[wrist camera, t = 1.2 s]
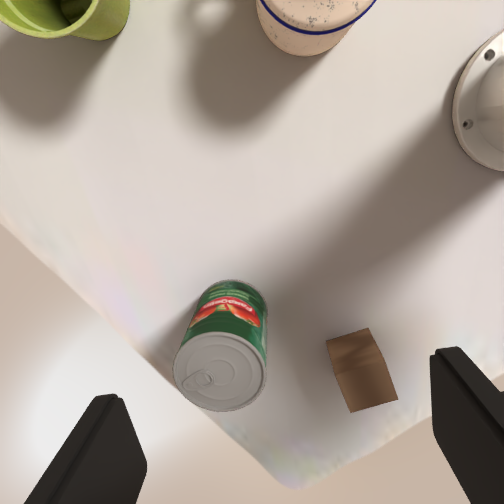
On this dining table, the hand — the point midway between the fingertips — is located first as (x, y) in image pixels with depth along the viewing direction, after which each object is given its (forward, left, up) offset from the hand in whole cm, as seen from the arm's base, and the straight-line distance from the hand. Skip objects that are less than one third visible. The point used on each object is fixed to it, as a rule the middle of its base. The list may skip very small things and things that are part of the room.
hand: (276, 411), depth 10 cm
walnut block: (-3, +19, -27) cm, 33 cm away
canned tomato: (+8, +9, -27) cm, 29 cm away
